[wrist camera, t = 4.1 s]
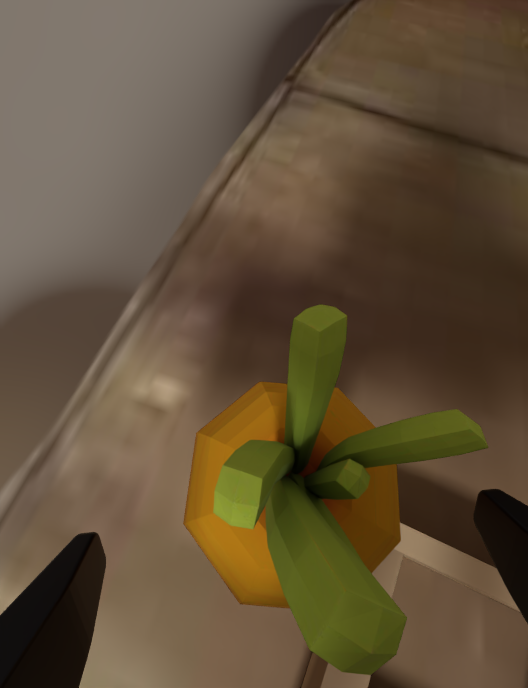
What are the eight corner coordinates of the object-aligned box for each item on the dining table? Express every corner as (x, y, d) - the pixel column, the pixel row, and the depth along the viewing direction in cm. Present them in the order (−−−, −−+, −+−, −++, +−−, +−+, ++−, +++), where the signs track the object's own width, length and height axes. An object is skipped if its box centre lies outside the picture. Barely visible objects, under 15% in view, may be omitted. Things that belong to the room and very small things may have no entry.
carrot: (249, 420, 19) (238, 209, 5) (340, 468, 18) (620, 370, 4) (199, 517, 17) (-28, 598, 3) (297, 573, 16) (533, 983, 3)
